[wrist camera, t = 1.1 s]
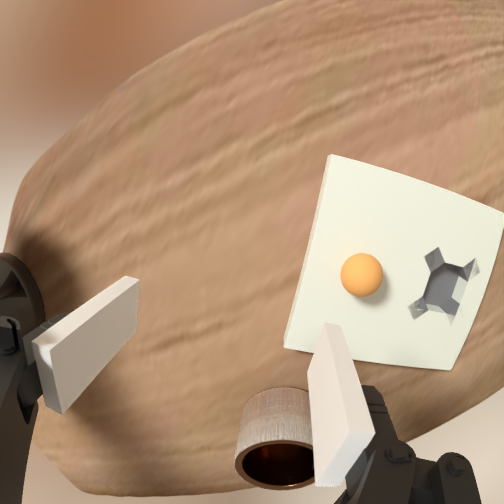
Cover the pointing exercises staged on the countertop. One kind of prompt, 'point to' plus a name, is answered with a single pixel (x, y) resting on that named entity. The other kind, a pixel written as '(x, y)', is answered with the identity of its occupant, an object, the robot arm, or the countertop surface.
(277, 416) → the planter
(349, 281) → the ball
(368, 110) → the countertop surface
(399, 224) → the plate
